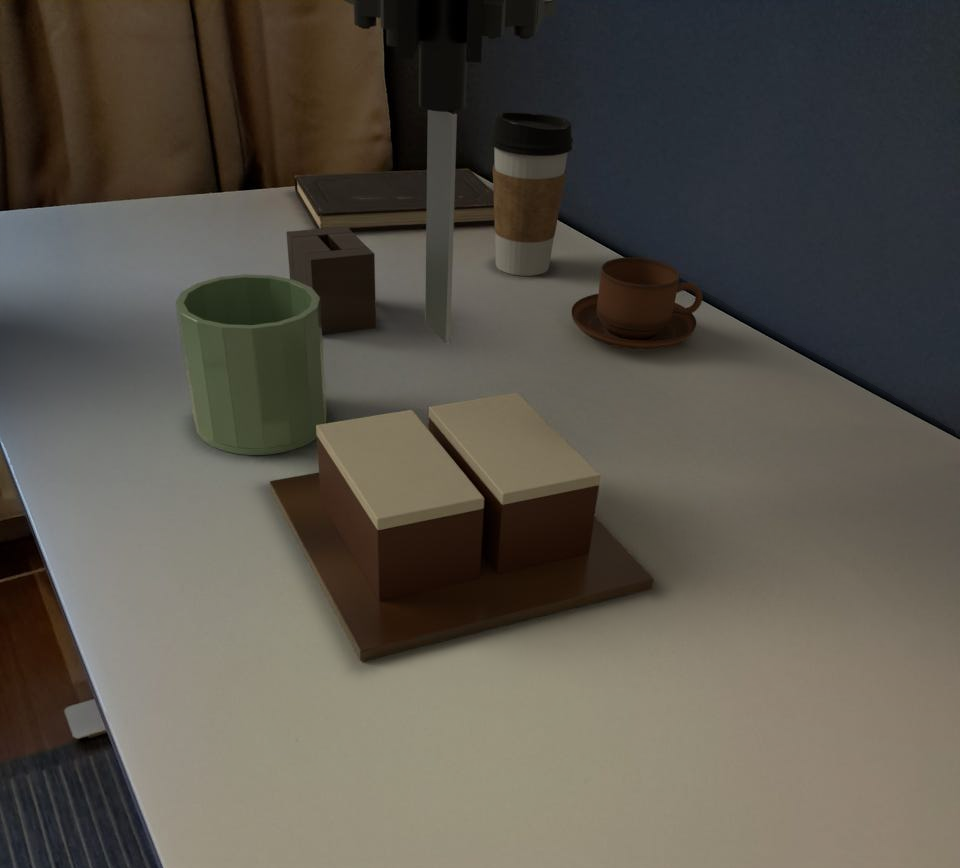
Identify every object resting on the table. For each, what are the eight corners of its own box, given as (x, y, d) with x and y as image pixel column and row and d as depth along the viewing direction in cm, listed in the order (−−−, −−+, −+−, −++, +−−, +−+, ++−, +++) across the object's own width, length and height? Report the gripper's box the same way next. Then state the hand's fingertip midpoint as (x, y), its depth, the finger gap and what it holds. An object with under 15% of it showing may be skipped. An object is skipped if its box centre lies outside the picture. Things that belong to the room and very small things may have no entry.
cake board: (270, 490, 70) (269, 480, 70) (518, 445, 77) (519, 435, 77) (360, 662, 57) (360, 651, 56) (652, 588, 63) (654, 578, 63)
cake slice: (427, 482, 71) (428, 406, 67) (511, 466, 73) (517, 392, 69) (497, 574, 62) (503, 494, 59) (589, 553, 65) (601, 474, 61)
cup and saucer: (659, 306, 101) (669, 245, 97) (714, 355, 92) (728, 290, 88) (551, 315, 98) (557, 252, 94) (598, 366, 89) (607, 299, 85)
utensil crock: (184, 404, 79) (164, 282, 73) (305, 386, 83) (296, 268, 76) (211, 464, 72) (192, 335, 66) (343, 442, 76) (337, 317, 70)
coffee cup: (471, 257, 109) (478, 108, 99) (538, 250, 112) (550, 104, 102) (504, 284, 103) (514, 128, 94) (573, 275, 106) (590, 124, 97)
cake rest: (320, 502, 68) (315, 424, 64) (411, 485, 70) (412, 409, 66) (379, 601, 60) (377, 519, 56) (480, 578, 62) (485, 497, 58)
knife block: (291, 304, 96) (286, 231, 92) (349, 297, 99) (346, 225, 94) (315, 335, 91) (310, 260, 87) (376, 328, 93) (374, 253, 89)
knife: (408, 325, 63) (409, -101, 49) (445, 320, 64) (456, -100, 50) (429, 346, 61) (435, -95, 46) (467, 341, 62) (485, -94, 47)
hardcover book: (506, 223, 119) (507, 203, 117) (318, 233, 113) (317, 213, 111) (466, 185, 130) (467, 167, 129) (295, 193, 124) (293, 173, 123)
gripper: (565, 41, 67) (592, 123, 49) (338, 28, 67) (282, 106, 49) (577, -94, 62) (613, -58, 45) (332, -110, 62) (269, -79, 44)
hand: (440, 27), depth 47 cm, fingers closed on knife, 3 cm apart
